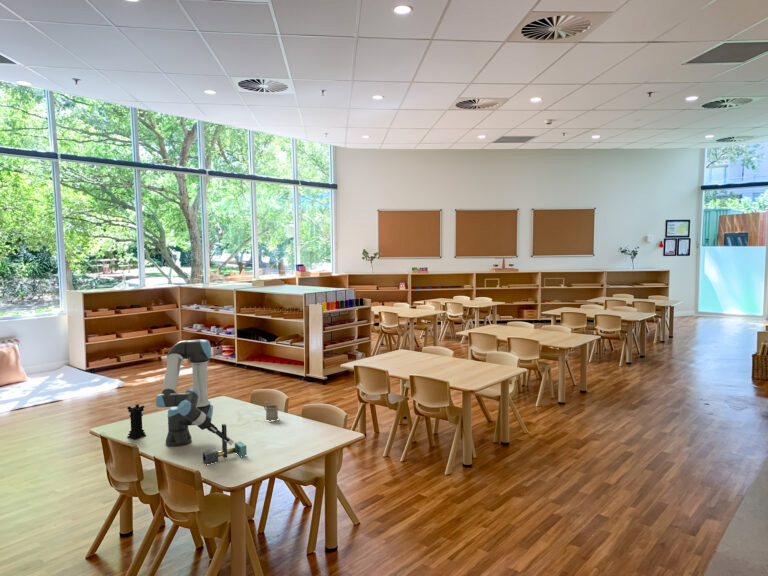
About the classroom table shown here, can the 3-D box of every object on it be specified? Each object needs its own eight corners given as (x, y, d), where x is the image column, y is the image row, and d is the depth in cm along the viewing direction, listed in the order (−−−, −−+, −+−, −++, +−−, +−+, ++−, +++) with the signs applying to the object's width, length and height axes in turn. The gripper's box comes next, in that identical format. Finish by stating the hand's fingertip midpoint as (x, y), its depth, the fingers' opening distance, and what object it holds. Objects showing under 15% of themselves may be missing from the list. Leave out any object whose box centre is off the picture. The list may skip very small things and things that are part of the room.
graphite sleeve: (202, 462, 287) (202, 451, 286) (214, 459, 291) (214, 448, 291) (206, 465, 282) (205, 454, 282) (218, 462, 287) (218, 451, 286)
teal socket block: (234, 453, 300) (234, 442, 300) (240, 451, 302) (240, 441, 302) (240, 457, 293) (240, 447, 293) (246, 456, 296) (246, 445, 295)
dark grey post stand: (206, 460, 287) (205, 427, 285) (234, 453, 297) (233, 421, 296) (208, 462, 284) (207, 429, 283) (236, 455, 295) (235, 423, 293)
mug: (281, 419, 361) (281, 403, 360) (270, 423, 354) (270, 406, 353) (269, 415, 371) (269, 399, 370) (258, 418, 363) (258, 402, 363)
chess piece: (138, 433, 334) (137, 404, 333) (146, 435, 330) (145, 405, 328) (127, 437, 327) (126, 407, 326) (134, 439, 323) (133, 409, 322)
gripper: (192, 422, 287) (221, 443, 299) (201, 430, 275) (232, 452, 286) (201, 411, 290) (230, 433, 302) (211, 418, 278) (240, 441, 289)
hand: (231, 442), depth 294 cm, fingers closed on dark grey post stand, 3 cm apart
